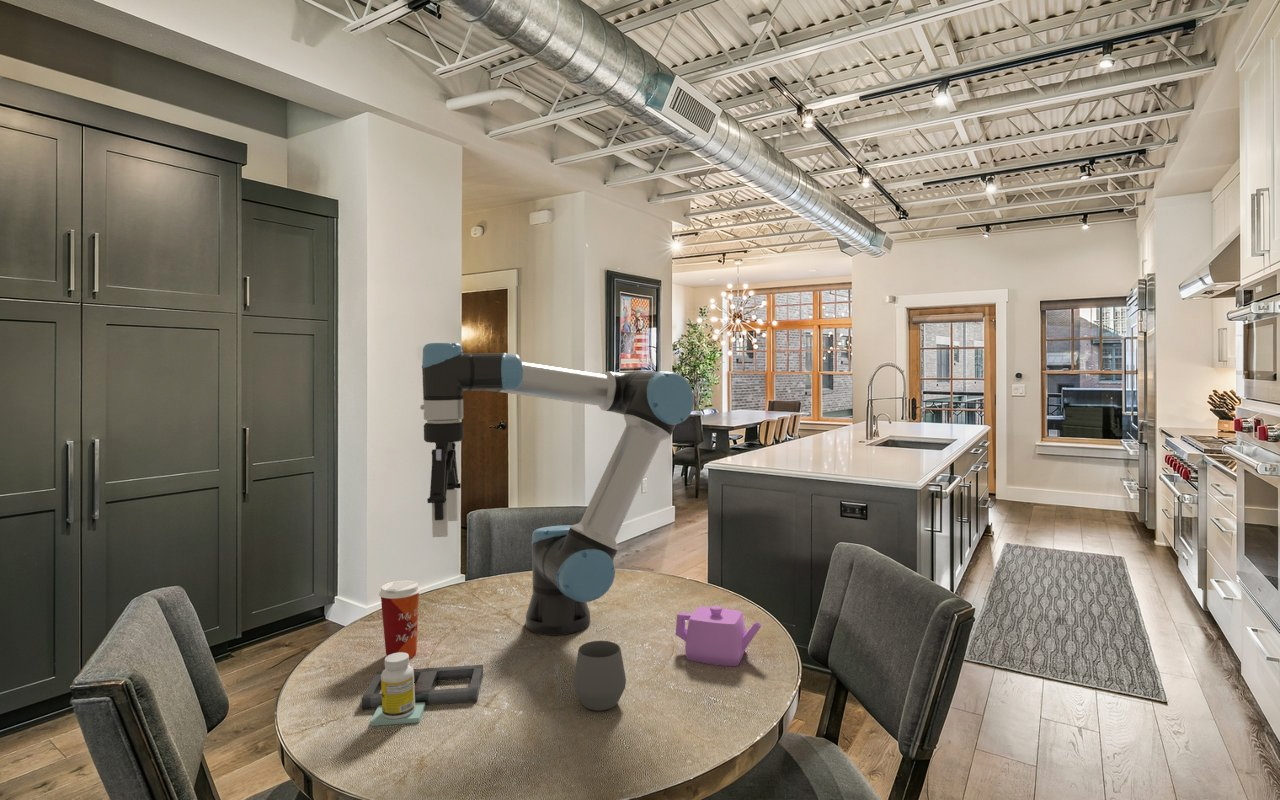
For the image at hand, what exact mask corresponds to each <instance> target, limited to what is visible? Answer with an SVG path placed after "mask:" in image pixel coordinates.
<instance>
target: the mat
mask: <svg viewBox="0 0 1280 800" xmlns="http://www.w3.org/2000/svg"><path fill="white" fill-rule="evenodd" d="M425 709H426V705H425V702H421V703H415V710H414V711H413V712H412V713H411V714H410V715H408V716H406V717H403V718H399V719H388V718H385V717H384V716H383V713H382V705H379V706H378V708H377V709H376V710H375V712H374V713H373V715H372V717H371V719H370V724H369V725H370V727H375V726H378V727H379V726H387V725H388V726H389V725H391V726H392V725H402V724H404V725H405V724H415V723H420V722H421V720H422V716H423V714H424V712H425Z"/></svg>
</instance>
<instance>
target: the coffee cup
mask: <svg viewBox="0 0 1280 800" xmlns="http://www.w3.org/2000/svg"><path fill="white" fill-rule="evenodd" d="M420 592H421V587H420V586H419V583H418V582H417V581H415V580H410V579H409V580H407V579H405V580H402V579H401V580H397V581H396V580H394V581H391V582H388V583H385V584H383V585H382V586H381V588H380V591H379V593H378V596H379V597H380V601H381V615H382V627H383V637H384V647H385V655H386V656H385V657H387V656H388V655H390V654H393V653H399V652H403V653H407V654H408V655H409V660H410V659H413V658H414V657H415V656H416V655H417V647H418V627H419V625H418V624H419V623H418V622H419V597H420V596H419V593H420Z"/></svg>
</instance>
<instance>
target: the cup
mask: <svg viewBox="0 0 1280 800" xmlns="http://www.w3.org/2000/svg"><path fill="white" fill-rule="evenodd" d="M574 670H575V671H574V676H573V680H572V681H573V689H574V690H575V693H576V695H577V697H578V698H579V700H580V702H581V705H582V706H583V707H584V708H586V709H587V710H591V711H596V712H600V711H606V710H610V709H612V708H614V707H615V706H616V705H618V704H619V701H620V699H621V697H622V695H623V693H624V691H625V689H626V682H627V677H626V672H625V667H624V660H623V655H622V650H621V646H620V645H619V644H618V643H616V642H612V641H609V640H594V641H589V642H586V643H583V644H581V646H579V647H578V649H577V657H576V663H575V669H574Z"/></svg>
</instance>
